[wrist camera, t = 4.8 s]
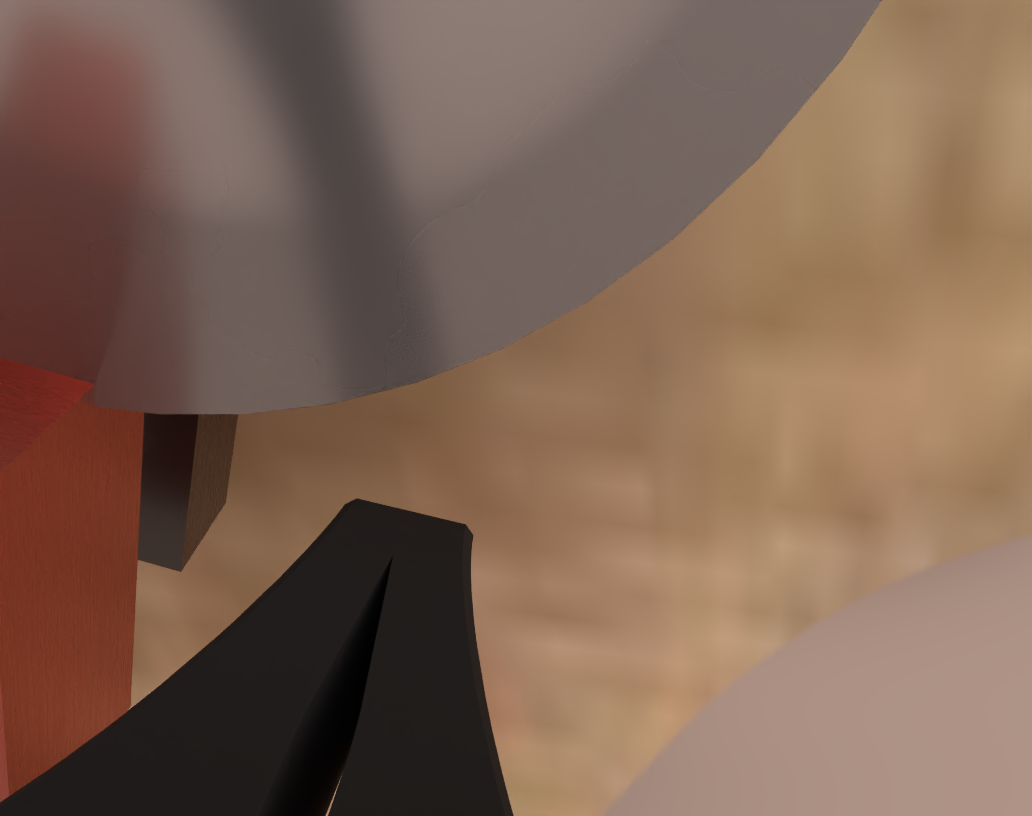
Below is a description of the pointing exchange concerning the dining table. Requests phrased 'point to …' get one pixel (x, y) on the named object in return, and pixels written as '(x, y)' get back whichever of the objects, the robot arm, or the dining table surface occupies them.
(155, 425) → the silver pot
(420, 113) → the cooker lid
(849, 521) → the dining table surface
